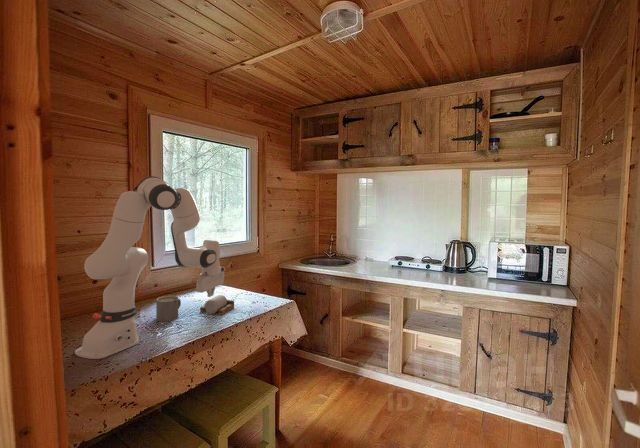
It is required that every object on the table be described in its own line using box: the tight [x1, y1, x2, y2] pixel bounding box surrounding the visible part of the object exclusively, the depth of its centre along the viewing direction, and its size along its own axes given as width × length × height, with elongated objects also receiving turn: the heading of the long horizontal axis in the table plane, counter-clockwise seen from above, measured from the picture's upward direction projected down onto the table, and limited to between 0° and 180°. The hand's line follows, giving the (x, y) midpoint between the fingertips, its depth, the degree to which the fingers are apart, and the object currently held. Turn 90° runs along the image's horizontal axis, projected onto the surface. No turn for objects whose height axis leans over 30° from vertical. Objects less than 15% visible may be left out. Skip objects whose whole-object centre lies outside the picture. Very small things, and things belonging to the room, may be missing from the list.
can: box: [204, 294, 228, 315], centre depth 171 cm, size 8×8×12 cm
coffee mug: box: [155, 295, 182, 323], centre depth 160 cm, size 13×10×10 cm
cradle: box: [199, 299, 235, 316], centre depth 172 cm, size 12×13×4 cm
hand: (210, 296), depth 165 cm, fingers closed
